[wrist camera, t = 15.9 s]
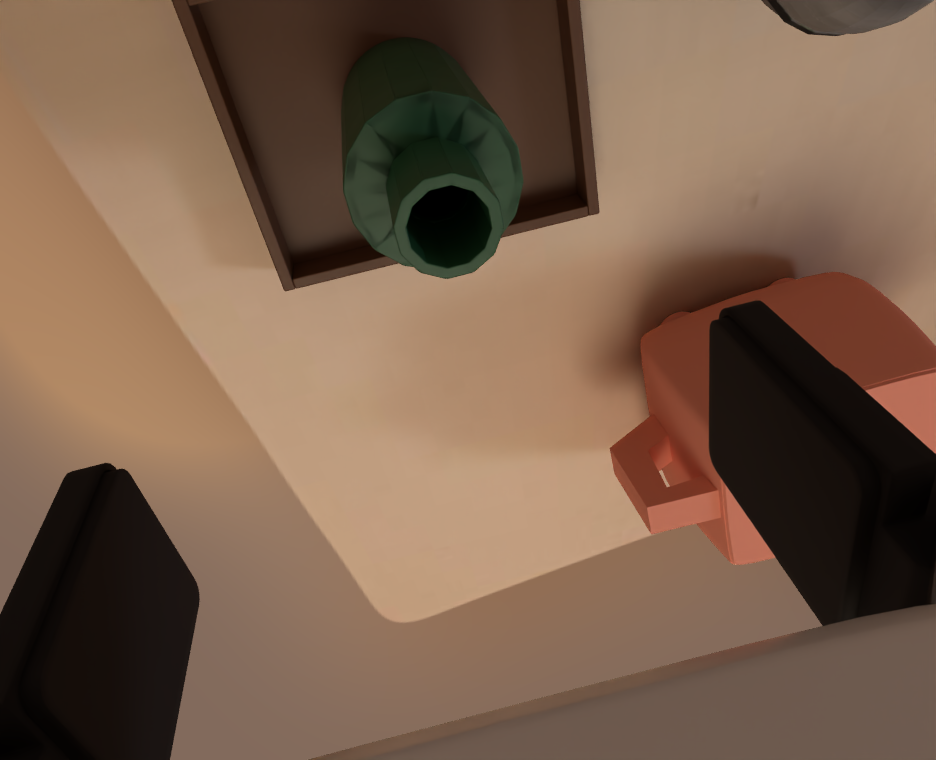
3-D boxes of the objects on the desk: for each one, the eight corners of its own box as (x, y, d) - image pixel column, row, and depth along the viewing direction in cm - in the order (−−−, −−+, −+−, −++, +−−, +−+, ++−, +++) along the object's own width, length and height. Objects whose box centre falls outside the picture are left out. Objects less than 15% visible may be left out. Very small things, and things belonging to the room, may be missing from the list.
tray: (287, 269, 40) (284, 292, 38) (180, -13, 32) (168, -6, 30) (584, 195, 40) (599, 213, 38) (553, -103, 32) (570, -103, 30)
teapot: (905, 218, 44) (1108, 330, 33) (891, 378, 52) (1054, 516, 40) (566, 328, 45) (646, 476, 33) (599, 470, 52) (675, 634, 40)
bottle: (362, 184, 37) (376, 338, 24) (324, 54, 34) (317, 152, 20) (481, 155, 37) (560, 292, 24) (456, 22, 34) (534, 98, 21)
